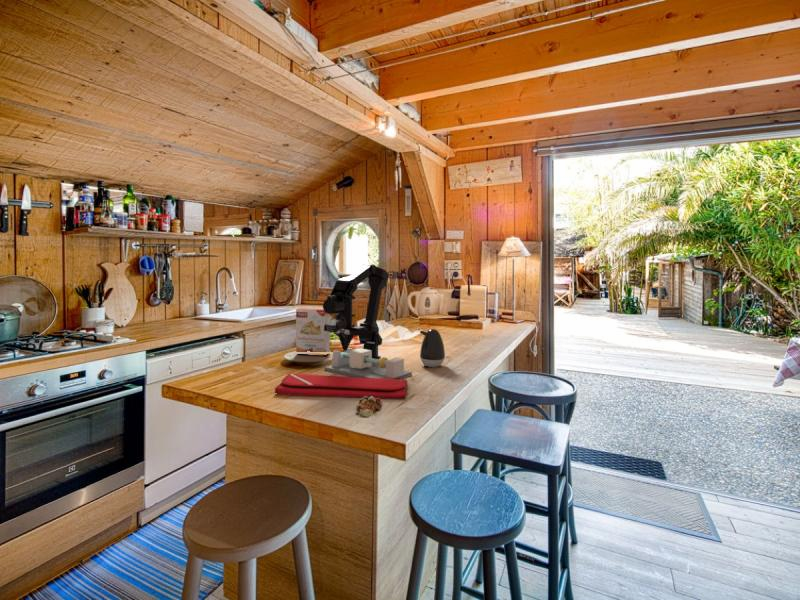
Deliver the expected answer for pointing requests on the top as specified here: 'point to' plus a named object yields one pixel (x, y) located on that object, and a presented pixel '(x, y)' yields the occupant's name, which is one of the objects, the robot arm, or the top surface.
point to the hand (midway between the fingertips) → (345, 350)
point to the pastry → (368, 406)
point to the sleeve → (360, 358)
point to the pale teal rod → (371, 360)
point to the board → (368, 368)
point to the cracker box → (312, 330)
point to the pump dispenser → (432, 349)
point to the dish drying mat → (342, 386)
